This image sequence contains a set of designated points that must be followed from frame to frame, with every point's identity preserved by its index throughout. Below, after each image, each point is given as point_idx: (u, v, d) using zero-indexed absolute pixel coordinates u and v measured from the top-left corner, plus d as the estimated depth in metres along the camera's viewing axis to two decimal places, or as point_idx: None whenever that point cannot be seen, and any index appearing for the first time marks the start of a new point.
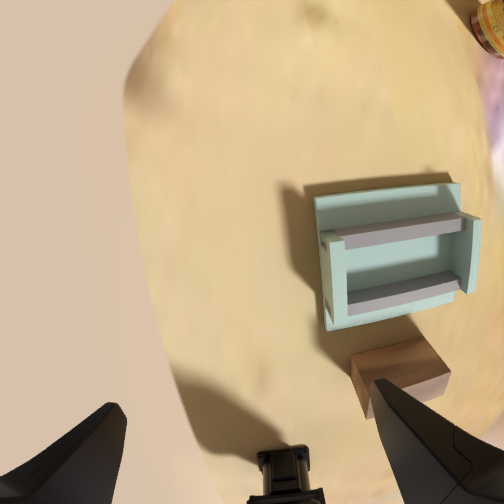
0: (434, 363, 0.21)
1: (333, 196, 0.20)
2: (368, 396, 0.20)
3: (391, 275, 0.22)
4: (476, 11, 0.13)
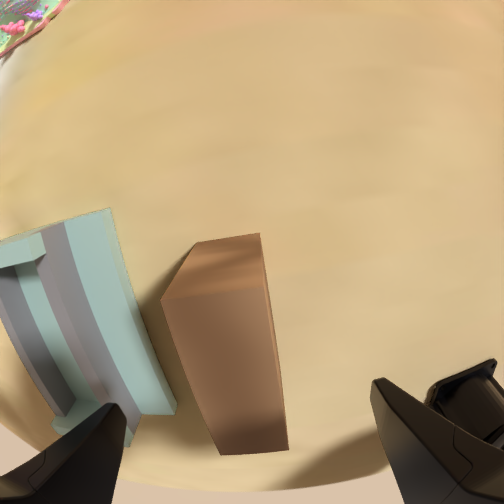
0: None
1: None
2: None
3: None
4: None
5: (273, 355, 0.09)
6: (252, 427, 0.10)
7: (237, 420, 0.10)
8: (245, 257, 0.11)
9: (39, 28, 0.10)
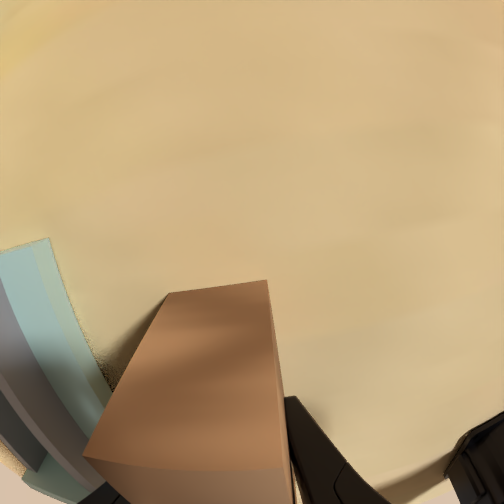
0: None
1: None
2: None
3: None
4: None
5: None
6: None
7: None
8: (244, 351, 0.05)
9: None
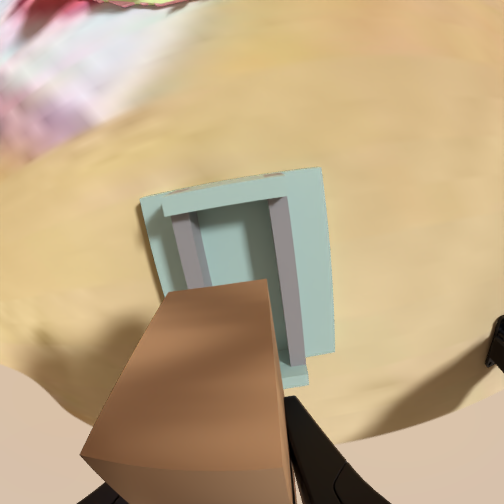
0: None
1: None
2: None
3: None
4: None
5: None
6: None
7: None
8: (243, 350, 0.05)
9: None
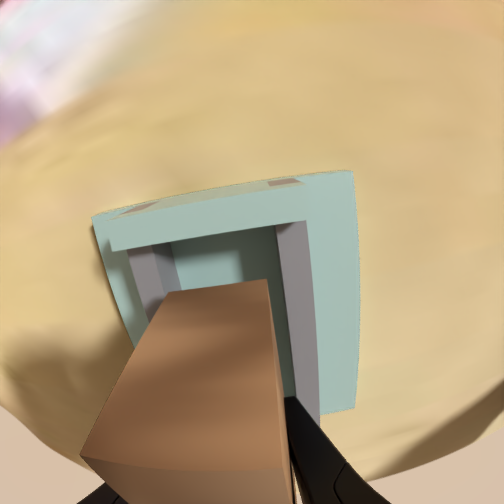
0: None
1: None
2: None
3: None
4: None
5: None
6: None
7: None
8: (243, 349, 0.05)
9: None
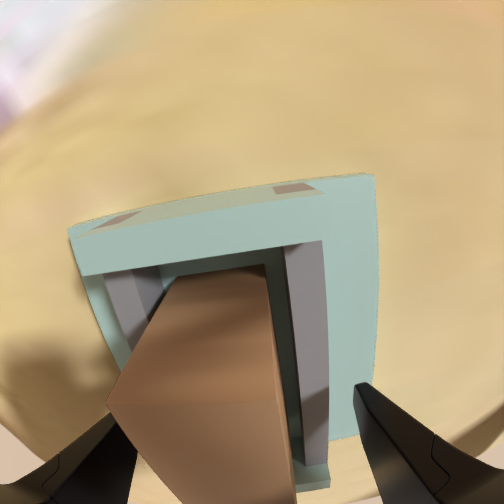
0: None
1: None
2: None
3: None
4: None
5: (286, 469, 0.05)
6: None
7: None
8: (244, 316, 0.07)
9: None
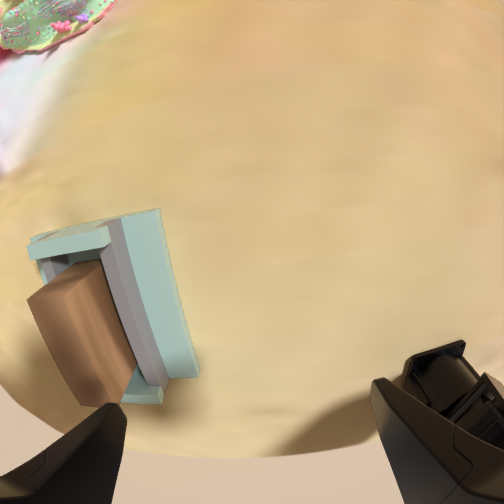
0: None
1: None
2: None
3: None
4: None
5: (78, 336, 0.13)
6: (87, 385, 0.14)
7: (78, 377, 0.14)
8: (78, 277, 0.15)
9: (84, 29, 0.14)
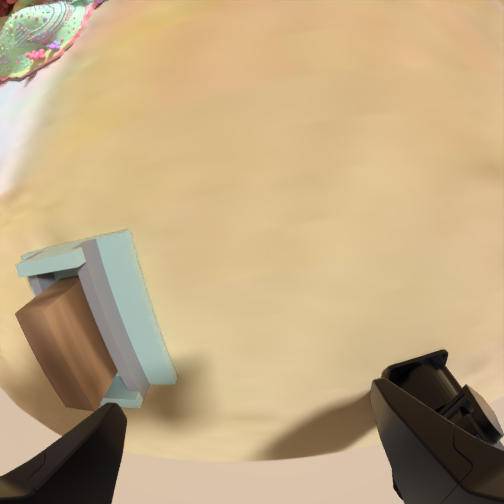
0: None
1: None
2: None
3: None
4: None
5: (58, 346, 0.14)
6: (69, 389, 0.15)
7: (61, 382, 0.15)
8: (59, 293, 0.16)
9: (57, 56, 0.15)
